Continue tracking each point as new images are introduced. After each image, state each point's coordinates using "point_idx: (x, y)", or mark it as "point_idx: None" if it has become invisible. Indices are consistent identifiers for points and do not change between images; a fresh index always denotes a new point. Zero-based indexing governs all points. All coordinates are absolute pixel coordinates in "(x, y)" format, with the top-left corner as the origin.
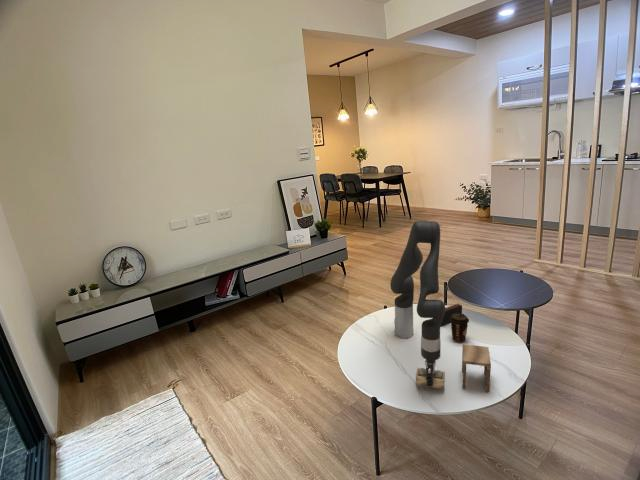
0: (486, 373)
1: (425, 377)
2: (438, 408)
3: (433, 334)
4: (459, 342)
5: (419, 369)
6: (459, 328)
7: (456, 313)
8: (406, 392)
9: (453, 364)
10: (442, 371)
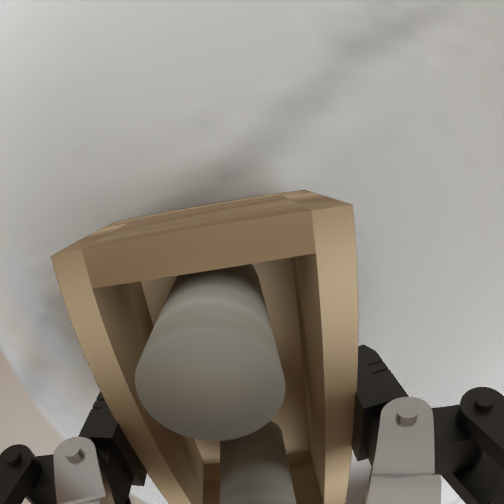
0: None
1: (122, 401)
2: (43, 406)
3: None
4: None
5: (182, 331)
6: None
7: None
8: (55, 143)
9: (500, 377)
10: (341, 500)
